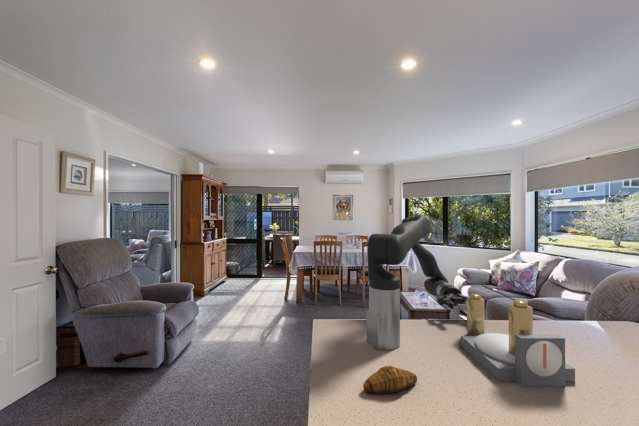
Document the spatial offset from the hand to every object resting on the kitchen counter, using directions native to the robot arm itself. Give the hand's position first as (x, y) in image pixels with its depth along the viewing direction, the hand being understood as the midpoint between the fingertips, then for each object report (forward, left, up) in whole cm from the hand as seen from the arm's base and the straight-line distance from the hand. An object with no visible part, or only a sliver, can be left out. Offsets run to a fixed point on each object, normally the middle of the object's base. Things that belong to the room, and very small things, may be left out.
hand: (465, 306), depth 100 cm
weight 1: (-4, -7, -7) cm, 10 cm away
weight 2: (-12, -25, -3) cm, 28 cm away
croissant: (-46, -18, -7) cm, 50 cm away
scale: (-10, -23, -7) cm, 26 cm away
